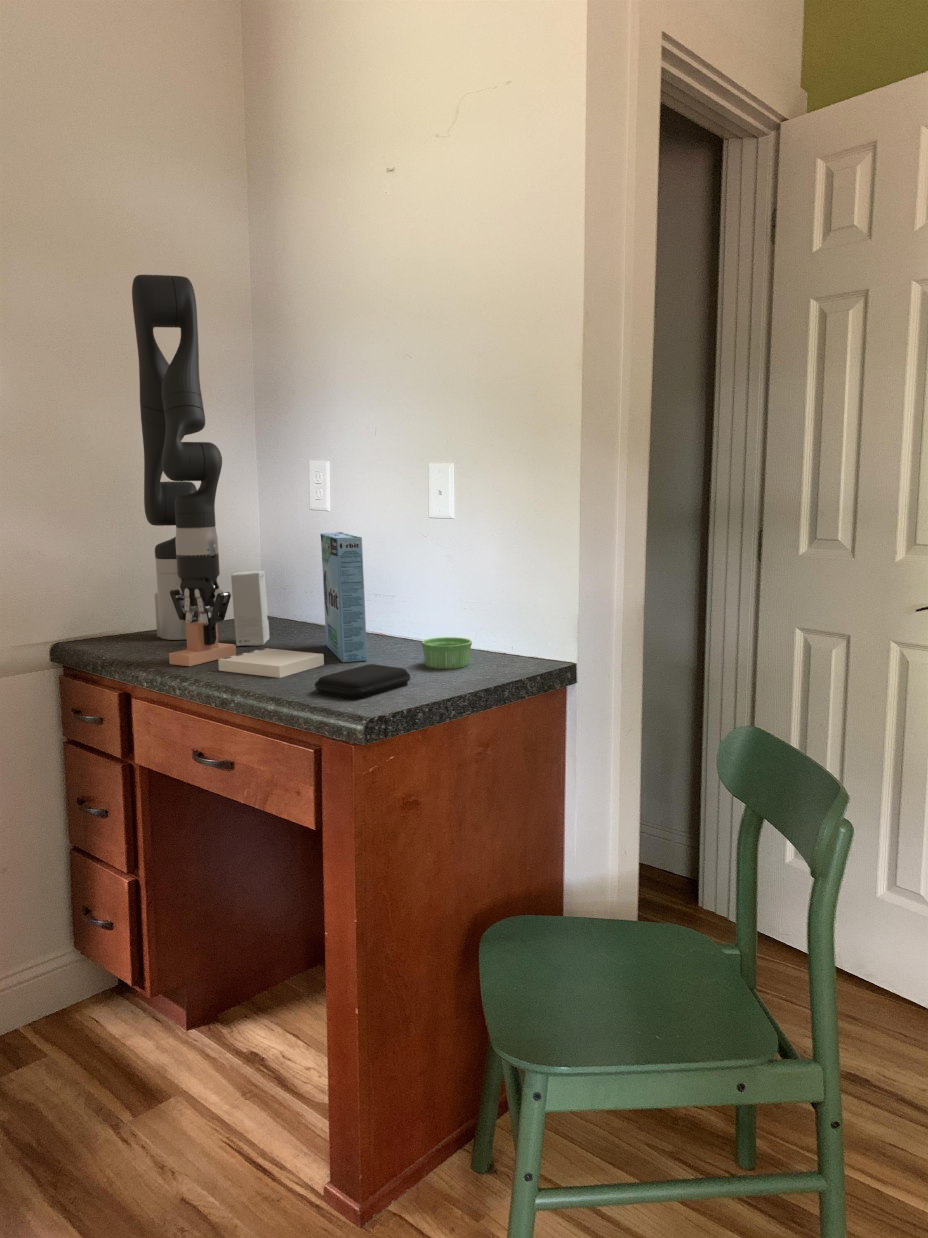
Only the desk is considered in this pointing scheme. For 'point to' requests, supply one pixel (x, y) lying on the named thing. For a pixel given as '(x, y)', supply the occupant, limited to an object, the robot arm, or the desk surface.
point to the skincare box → (250, 608)
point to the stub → (200, 648)
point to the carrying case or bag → (362, 681)
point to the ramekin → (446, 652)
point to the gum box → (344, 596)
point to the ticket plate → (271, 662)
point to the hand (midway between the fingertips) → (202, 643)
